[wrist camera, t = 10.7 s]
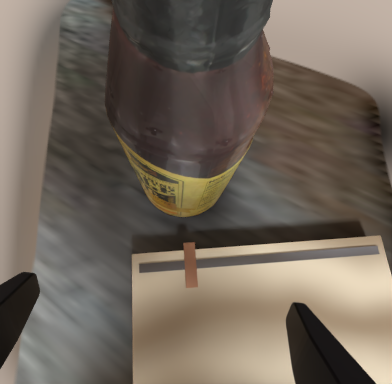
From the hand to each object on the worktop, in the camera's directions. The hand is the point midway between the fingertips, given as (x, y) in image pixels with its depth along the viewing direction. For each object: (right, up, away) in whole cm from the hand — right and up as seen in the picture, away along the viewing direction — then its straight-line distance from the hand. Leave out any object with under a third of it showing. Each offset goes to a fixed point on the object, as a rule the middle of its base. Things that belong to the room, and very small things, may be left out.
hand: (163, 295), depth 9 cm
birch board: (+6, -5, +10) cm, 13 cm away
